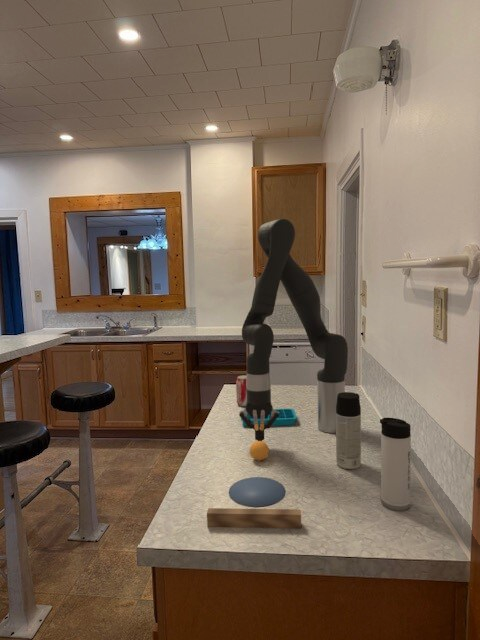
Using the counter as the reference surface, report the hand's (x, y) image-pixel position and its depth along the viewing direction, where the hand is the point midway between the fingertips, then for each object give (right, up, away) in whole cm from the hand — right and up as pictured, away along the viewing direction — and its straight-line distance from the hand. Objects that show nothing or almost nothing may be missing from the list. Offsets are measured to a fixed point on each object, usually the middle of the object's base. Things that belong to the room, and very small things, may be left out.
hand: (259, 440), depth 130 cm
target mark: (-2, -5, -27) cm, 27 cm away
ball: (-1, 0, -9) cm, 9 cm away
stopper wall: (-3, -6, -41) cm, 41 cm away
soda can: (-4, +2, +44) cm, 44 cm away
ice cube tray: (+4, 0, +23) cm, 24 cm away
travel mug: (+29, -5, -35) cm, 46 cm away
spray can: (+24, -3, -14) cm, 28 cm away
